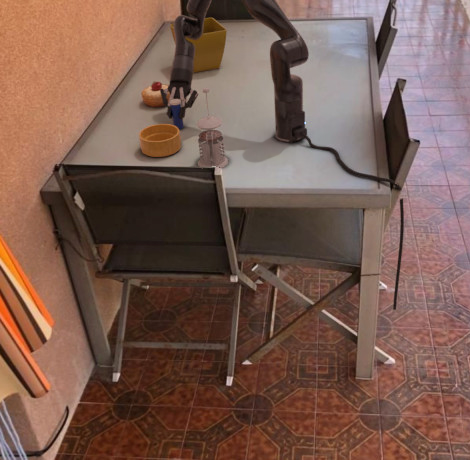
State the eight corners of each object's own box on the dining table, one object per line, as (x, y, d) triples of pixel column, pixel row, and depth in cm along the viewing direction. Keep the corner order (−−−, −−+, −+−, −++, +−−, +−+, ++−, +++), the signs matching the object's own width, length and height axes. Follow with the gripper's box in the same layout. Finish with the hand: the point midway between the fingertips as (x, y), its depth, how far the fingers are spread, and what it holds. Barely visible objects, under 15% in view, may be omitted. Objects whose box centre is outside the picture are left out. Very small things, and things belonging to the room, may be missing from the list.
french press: (228, 153, 213) (222, 80, 198) (228, 171, 203) (222, 96, 189) (198, 155, 213) (189, 82, 198) (196, 173, 203) (188, 98, 189)
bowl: (189, 149, 217) (187, 132, 213) (154, 162, 210) (151, 145, 207) (168, 136, 225) (166, 120, 222) (134, 148, 219) (131, 132, 216)
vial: (186, 127, 230) (182, 100, 225) (177, 130, 229) (173, 104, 223) (180, 124, 233) (176, 97, 227) (171, 127, 231) (167, 100, 225)
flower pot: (230, 69, 274) (227, 29, 265) (186, 77, 269) (182, 37, 259) (215, 55, 289) (212, 17, 279) (174, 63, 284) (169, 24, 274)
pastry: (179, 96, 253) (176, 74, 248) (167, 109, 244) (164, 87, 239) (150, 95, 256) (147, 73, 251) (138, 107, 247) (134, 85, 242)
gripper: (159, 66, 227) (152, 113, 224) (198, 67, 224) (191, 115, 221) (166, 75, 234) (159, 121, 232) (204, 76, 231) (197, 122, 229)
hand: (175, 118), depth 227 cm, fingers closed on vial, 3 cm apart
